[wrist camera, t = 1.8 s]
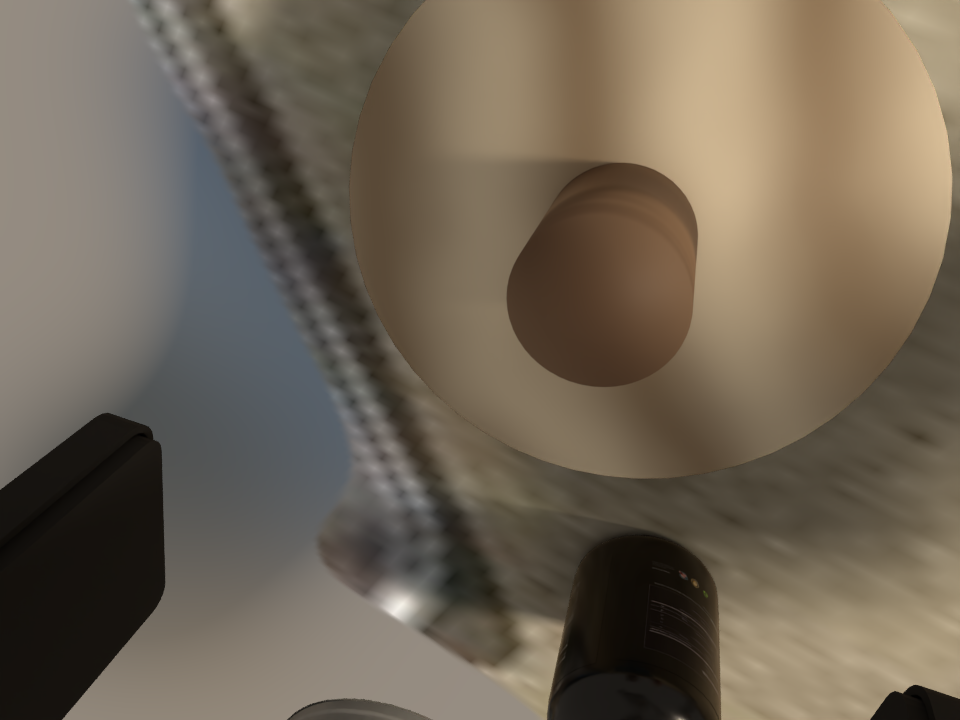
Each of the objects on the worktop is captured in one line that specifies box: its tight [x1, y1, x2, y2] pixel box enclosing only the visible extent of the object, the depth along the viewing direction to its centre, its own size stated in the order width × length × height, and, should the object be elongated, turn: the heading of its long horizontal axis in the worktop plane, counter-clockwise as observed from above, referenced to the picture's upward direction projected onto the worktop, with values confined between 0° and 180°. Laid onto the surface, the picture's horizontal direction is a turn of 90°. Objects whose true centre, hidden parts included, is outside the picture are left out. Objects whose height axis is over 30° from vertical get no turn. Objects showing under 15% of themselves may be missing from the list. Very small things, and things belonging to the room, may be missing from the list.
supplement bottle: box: [547, 535, 721, 720], centre depth 32 cm, size 7×7×12 cm
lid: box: [349, 0, 952, 479], centre depth 21 cm, size 17×17×6 cm
